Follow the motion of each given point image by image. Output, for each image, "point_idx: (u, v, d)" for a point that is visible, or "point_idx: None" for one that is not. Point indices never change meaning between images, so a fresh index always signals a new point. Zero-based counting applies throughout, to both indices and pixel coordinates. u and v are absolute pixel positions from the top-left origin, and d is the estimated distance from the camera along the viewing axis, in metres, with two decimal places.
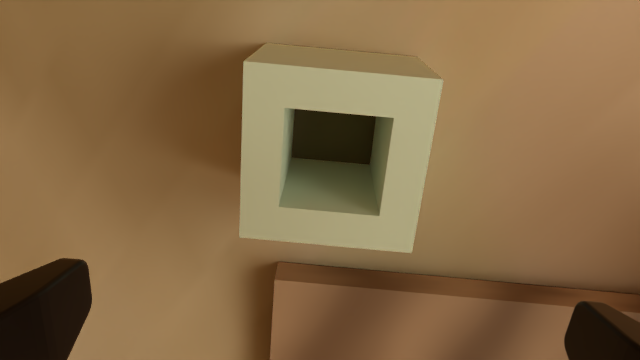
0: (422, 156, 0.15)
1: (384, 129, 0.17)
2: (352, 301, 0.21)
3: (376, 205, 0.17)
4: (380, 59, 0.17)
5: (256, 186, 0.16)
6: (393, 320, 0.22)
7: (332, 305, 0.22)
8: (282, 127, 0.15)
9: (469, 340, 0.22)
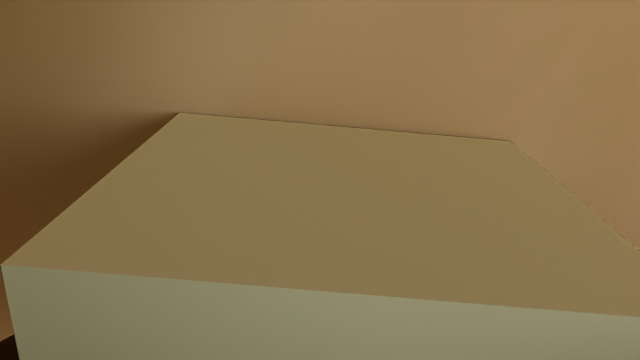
0: None
1: None
2: None
3: None
4: (445, 170, 0.07)
5: None
6: None
7: None
8: None
9: None
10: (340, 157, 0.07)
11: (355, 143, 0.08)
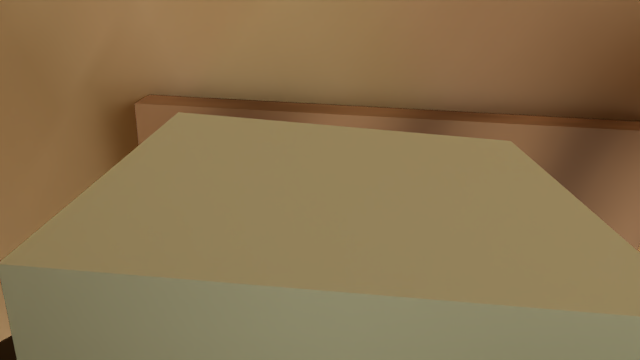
0: None
1: None
2: None
3: None
4: (444, 170, 0.07)
5: None
6: None
7: None
8: None
9: None
10: (339, 156, 0.07)
11: (354, 143, 0.08)
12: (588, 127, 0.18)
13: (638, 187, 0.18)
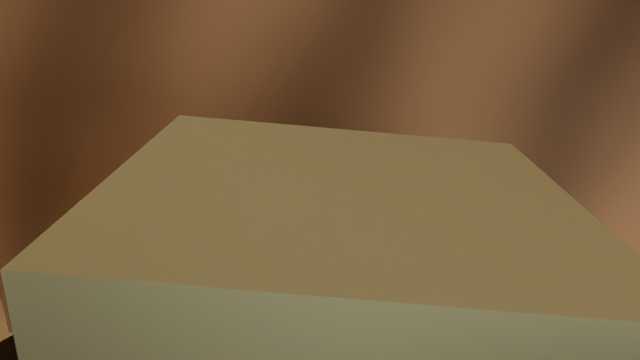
0: None
1: None
2: None
3: None
4: (445, 173, 0.07)
5: None
6: (165, 13, 0.12)
7: None
8: None
9: (310, 57, 0.12)
10: (340, 160, 0.07)
11: (355, 146, 0.08)
12: None
13: None
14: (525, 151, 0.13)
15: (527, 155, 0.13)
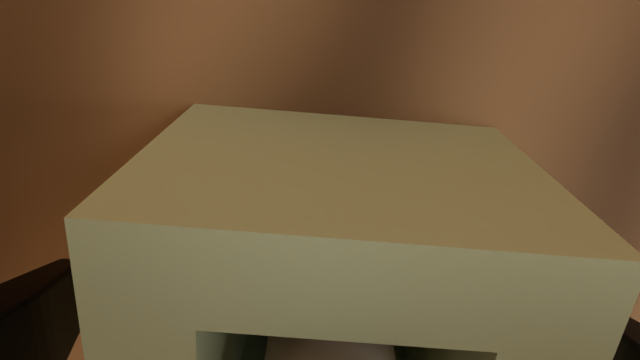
0: None
1: None
2: None
3: None
4: (432, 150, 0.08)
5: None
6: (114, 22, 0.09)
7: None
8: None
9: (306, 79, 0.09)
10: (339, 140, 0.08)
11: (353, 129, 0.09)
12: None
13: None
14: (584, 198, 0.10)
15: (585, 203, 0.10)
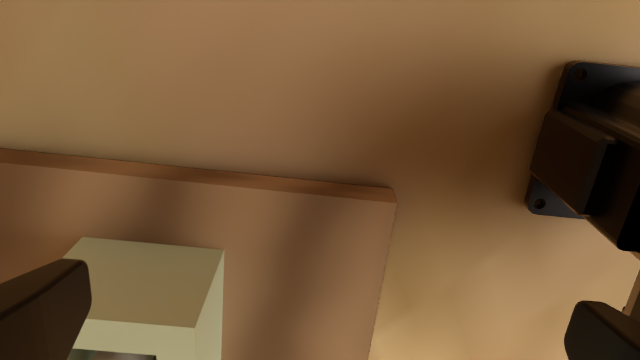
0: None
1: None
2: None
3: None
4: (173, 270, 0.19)
5: None
6: (43, 203, 0.20)
7: None
8: None
9: (133, 228, 0.20)
10: (136, 264, 0.19)
11: (149, 255, 0.19)
12: (317, 194, 0.19)
13: (369, 248, 0.20)
14: (273, 281, 0.21)
15: (274, 283, 0.21)
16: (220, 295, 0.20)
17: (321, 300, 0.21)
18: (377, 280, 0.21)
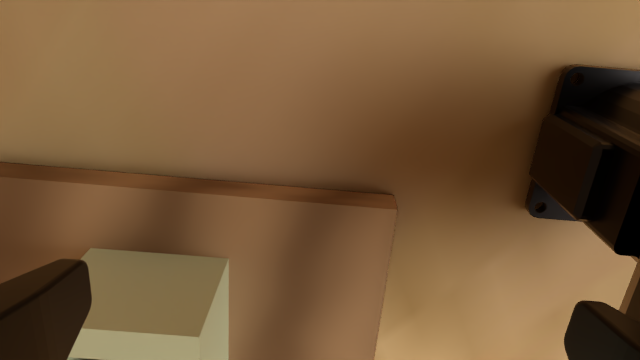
0: None
1: None
2: (1, 194, 0.20)
3: None
4: (178, 279, 0.19)
5: None
6: (52, 216, 0.20)
7: None
8: None
9: (139, 238, 0.20)
10: (142, 274, 0.19)
11: (155, 264, 0.20)
12: (318, 202, 0.20)
13: (371, 254, 0.20)
14: (277, 288, 0.21)
15: (278, 290, 0.21)
16: (225, 303, 0.21)
17: (325, 306, 0.22)
18: (379, 286, 0.21)
